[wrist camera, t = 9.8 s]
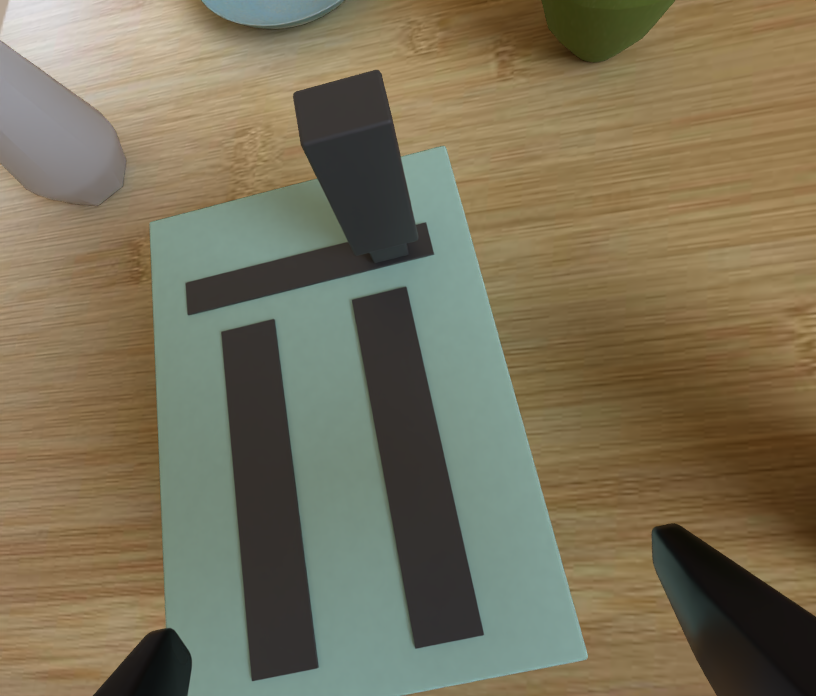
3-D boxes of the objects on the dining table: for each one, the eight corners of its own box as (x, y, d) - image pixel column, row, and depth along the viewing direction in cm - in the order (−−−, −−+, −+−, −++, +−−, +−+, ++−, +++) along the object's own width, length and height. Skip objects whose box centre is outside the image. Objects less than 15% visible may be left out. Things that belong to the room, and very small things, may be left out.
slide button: (423, 259, 16) (392, 121, 11) (363, 274, 16) (300, 145, 11) (414, 220, 17) (379, 66, 11) (355, 234, 17) (290, 90, 11)
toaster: (547, 603, 21) (593, 663, 12) (284, 656, 21) (164, 745, 13) (456, 257, 26) (446, 140, 18) (247, 308, 26) (145, 219, 18)
